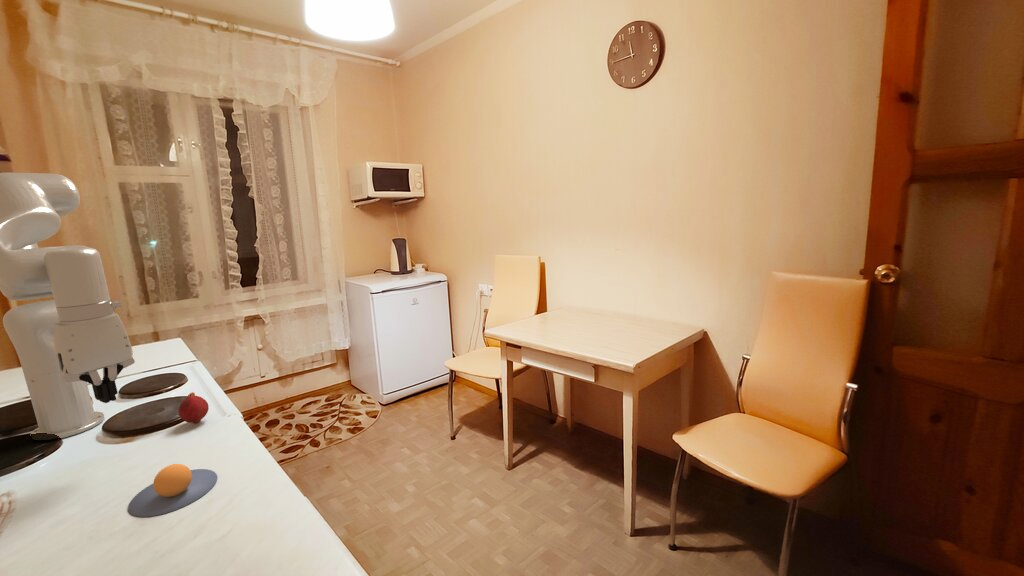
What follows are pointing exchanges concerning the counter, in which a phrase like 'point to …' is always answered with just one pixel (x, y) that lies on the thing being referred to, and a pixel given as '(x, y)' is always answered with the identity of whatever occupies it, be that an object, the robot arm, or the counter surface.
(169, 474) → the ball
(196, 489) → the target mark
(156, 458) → the counter surface
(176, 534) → the counter surface
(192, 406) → the onion
